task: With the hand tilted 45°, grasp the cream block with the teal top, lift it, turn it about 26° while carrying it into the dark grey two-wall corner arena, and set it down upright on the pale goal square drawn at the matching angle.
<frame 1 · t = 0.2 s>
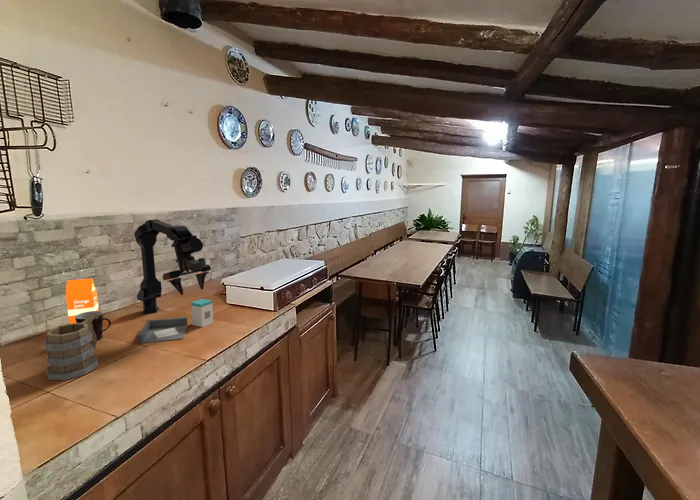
hand: (192, 292, 145), 15 cm above the counter, tool tilted 15°, fingers open, 9 cm apart
coffee mug: (94, 340, 133), on the counter
orange juice: (85, 325, 147), on the counter
cream block: (202, 323, 151), on the counter
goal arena: (166, 333, 140), on the counter
tankard: (82, 364, 115), on the counter
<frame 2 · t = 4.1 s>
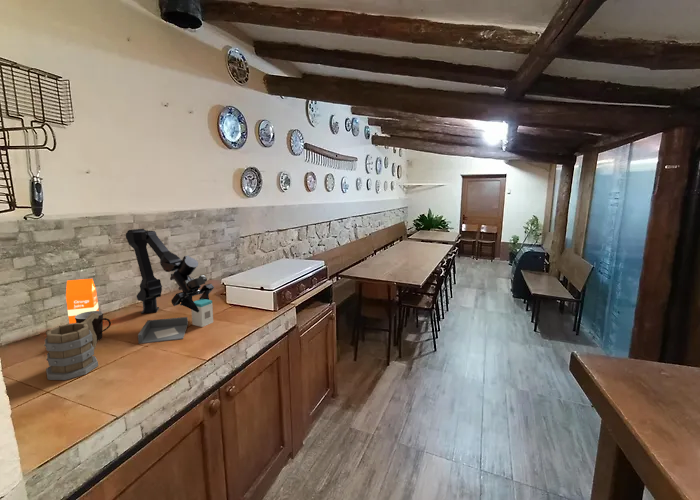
hand: (204, 309, 150), 7 cm above the counter, tool tilted 45°, fingers closed on cream block, 6 cm apart
cream block: (202, 323, 151), on the counter, touching gripper
everything else where it was.
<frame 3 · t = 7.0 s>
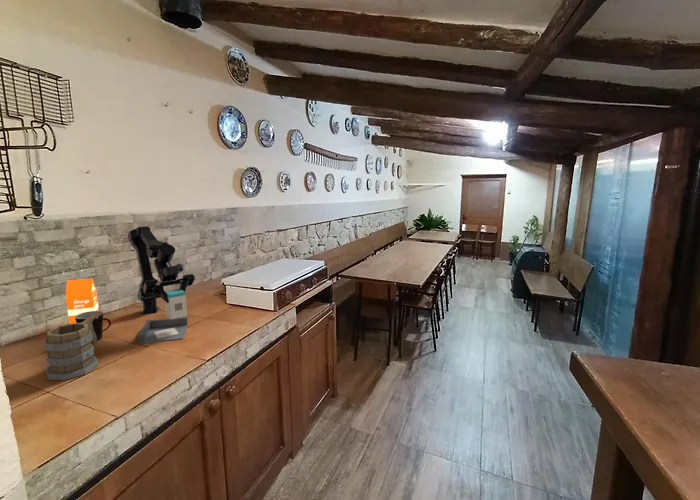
hand: (176, 300, 139), 13 cm above the counter, tool tilted 45°, fingers closed on cream block, 6 cm apart
cream block: (176, 315, 141), point 7 cm above the counter, touching gripper
everything else where it was.
when the fingers open (8 cm above the counter, at t = 9.8 s): cream block stays where it is, resting on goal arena.
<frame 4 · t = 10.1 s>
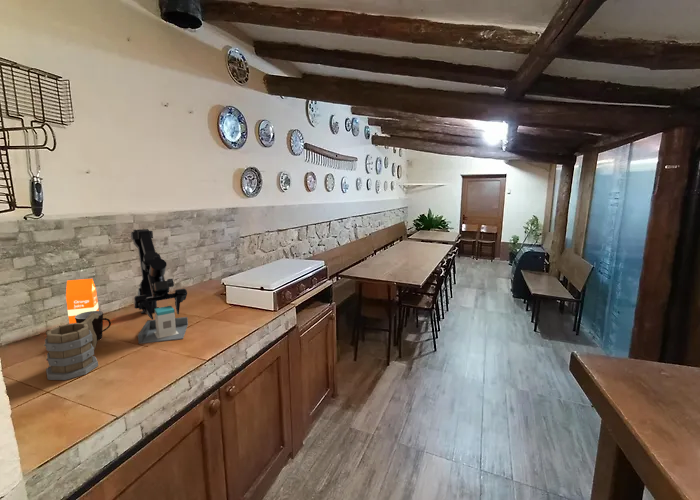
hand: (165, 316, 137), 8 cm above the counter, tool tilted 45°, fingers open, 9 cm apart
cream block: (166, 332, 140), resting on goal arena
everything else where it was.
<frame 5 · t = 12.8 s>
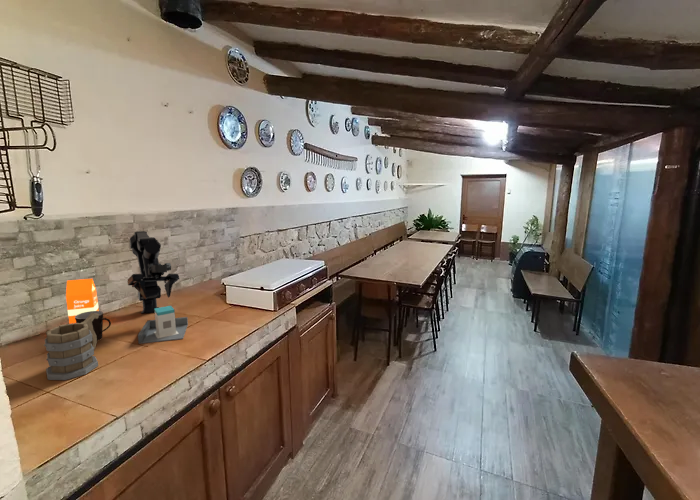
hand: (157, 297, 145), 13 cm above the counter, tool tilted 35°, fingers open, 9 cm apart
nothing on the counter moved.
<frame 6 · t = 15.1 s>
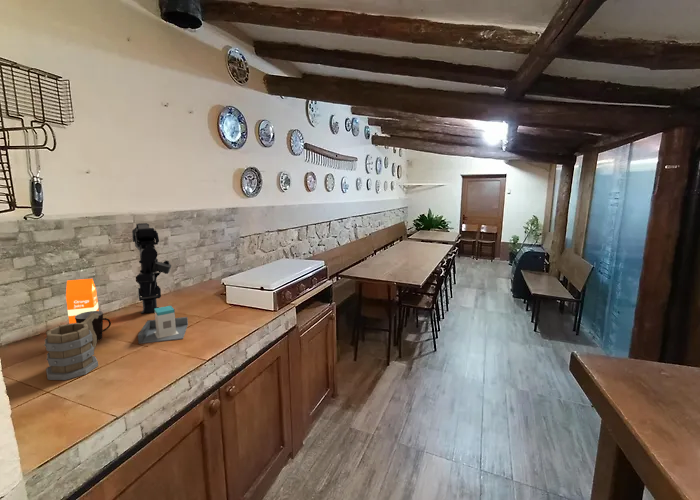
hand: (150, 292, 151), 13 cm above the counter, tool pointing down, fingers open, 9 cm apart
nothing on the counter moved.
at the end: cream block 0.0 cm off-centre on the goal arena, point 0.5 cm above the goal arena's base; cream block tilted 0°; the gripper is holding nothing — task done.
